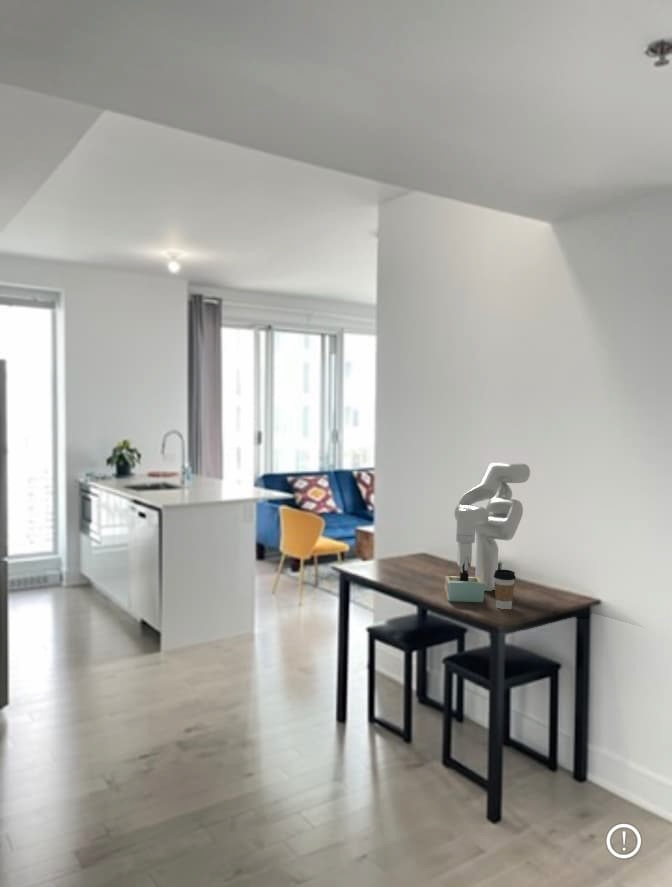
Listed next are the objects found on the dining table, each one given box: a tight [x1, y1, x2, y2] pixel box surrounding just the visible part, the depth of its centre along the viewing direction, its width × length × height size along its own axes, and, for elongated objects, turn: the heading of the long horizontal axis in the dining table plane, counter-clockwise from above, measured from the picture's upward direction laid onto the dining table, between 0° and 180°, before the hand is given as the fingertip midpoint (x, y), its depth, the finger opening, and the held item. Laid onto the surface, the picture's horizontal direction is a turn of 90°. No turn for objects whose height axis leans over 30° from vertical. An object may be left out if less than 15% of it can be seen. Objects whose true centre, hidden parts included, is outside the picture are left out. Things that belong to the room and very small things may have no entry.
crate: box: [444, 575, 481, 600], centre depth 281 cm, size 14×12×7 cm
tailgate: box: [447, 581, 485, 603], centre depth 273 cm, size 14×1×9 cm, turn 87°
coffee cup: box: [494, 569, 516, 609], centre depth 266 cm, size 8×8×15 cm
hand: (464, 582), depth 279 cm, fingers closed
